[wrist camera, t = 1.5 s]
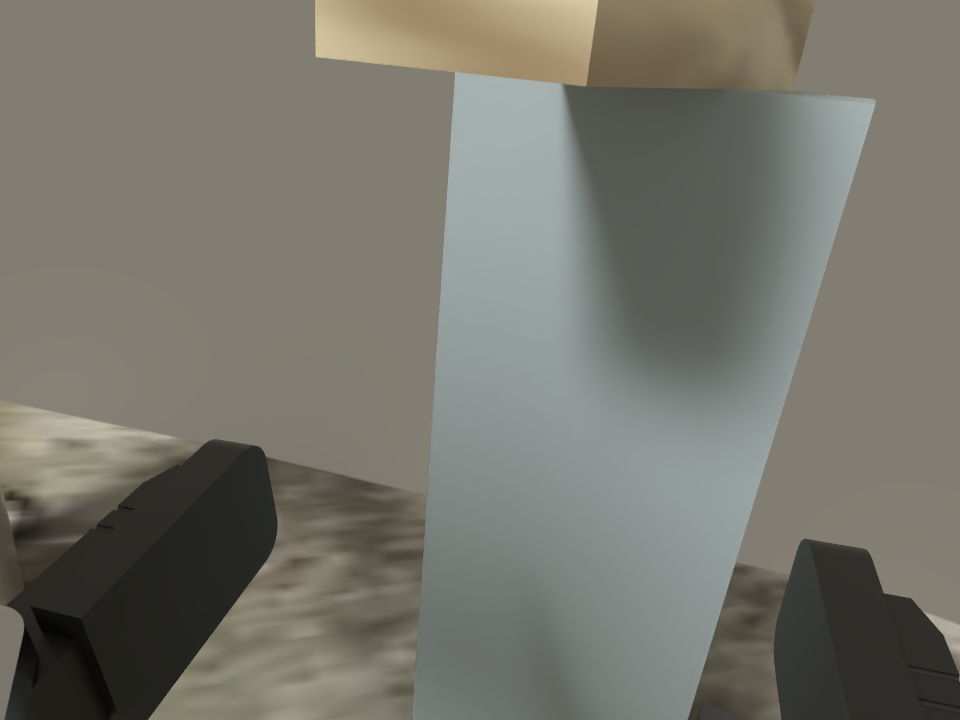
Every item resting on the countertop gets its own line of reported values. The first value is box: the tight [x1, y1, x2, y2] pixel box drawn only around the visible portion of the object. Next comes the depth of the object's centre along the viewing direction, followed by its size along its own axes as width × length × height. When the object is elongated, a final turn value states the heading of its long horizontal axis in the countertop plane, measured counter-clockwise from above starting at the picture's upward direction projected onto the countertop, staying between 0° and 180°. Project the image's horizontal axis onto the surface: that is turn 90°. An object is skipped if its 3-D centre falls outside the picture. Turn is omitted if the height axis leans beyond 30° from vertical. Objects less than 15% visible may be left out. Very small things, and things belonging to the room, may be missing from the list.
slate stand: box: [412, 72, 875, 720], centre depth 27 cm, size 10×12×32 cm
